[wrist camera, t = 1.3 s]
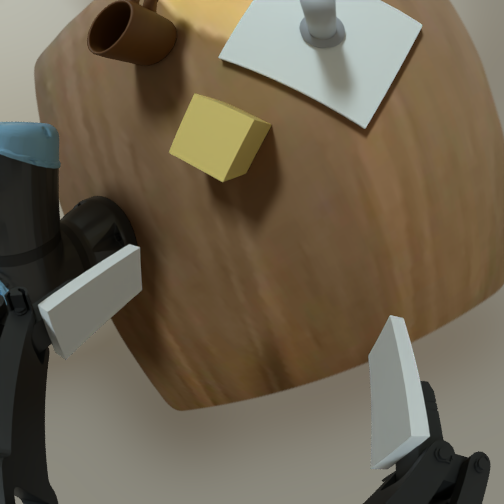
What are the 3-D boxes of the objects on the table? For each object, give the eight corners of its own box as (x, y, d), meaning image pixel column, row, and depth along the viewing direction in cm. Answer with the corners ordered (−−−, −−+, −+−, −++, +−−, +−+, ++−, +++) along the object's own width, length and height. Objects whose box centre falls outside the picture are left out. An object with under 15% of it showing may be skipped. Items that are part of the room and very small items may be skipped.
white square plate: (221, 59, 26) (185, 38, 18) (281, -32, 18) (264, -70, 11) (364, 129, 25) (377, 123, 17) (420, 27, 17) (443, -2, 10)
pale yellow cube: (200, 149, 31) (168, 152, 25) (223, 101, 28) (194, 93, 22) (245, 173, 30) (222, 182, 24) (271, 124, 28) (254, 119, 21)
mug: (162, -6, 23) (121, -29, 14) (204, -2, 22) (165, -32, 14) (126, 61, 28) (77, 52, 20) (163, 72, 28) (114, 59, 20)
